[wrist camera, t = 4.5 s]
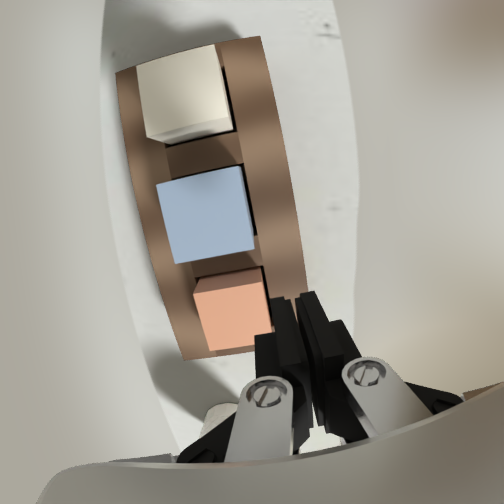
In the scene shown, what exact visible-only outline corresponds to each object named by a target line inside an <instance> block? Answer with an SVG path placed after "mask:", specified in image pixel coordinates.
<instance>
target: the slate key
mask: <svg viewBox="0 0 504 504" xmlns="http://www.w3.org/2000/svg"><path fill="white" fill-rule="evenodd" d="M156 187H157V192H158V196H159V201H160V205H161V210H162V214H163V218H164V222H165V227H166V231H167V235H168V239H169V243H170V247H171V251H172V254H173V258H174V262H175V264H178V263H183V262H188V261H194V260H199V259H204V258H210V257H215V256H220V255H226V254H231V253H236V252H242V251H247V250H252V249H254V235H253V227H252V222H251V217H250V211H249V206H248V201H247V196H246V191H245V186H244V181H243V176H242V170H241V167H239V166H236V167H231V168H226V169H221V170H216V171H212V172H207V173H203V174H198V175H194V176H189V177H185V178H181V179H177V180H173V181H169V182H165V183H161V184H157V185H156Z"/></svg>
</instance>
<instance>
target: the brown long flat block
mask: <svg viewBox="0 0 504 504" xmlns="http://www.w3.org/2000/svg"><path fill="white" fill-rule="evenodd" d="M210 45H213V44H210ZM206 46H208V45H206ZM214 46H215V50H216V53H217V57H218V60H219V64H220V67H221V71H222V75H223V80H224V85H225V90H226V95H227V100H228V105H229V110H230V115H231V120H232V125H233V130H234V131H229V132H224V133H219V134H215V135H210V136H206V137H201V138H197V139H193V140H189V141H185V142H181V143H177V144H173V145H170V144H167V143H164V142H161V141H158V140H154V139H151V138H148V137H147V135H146V130H145V124H144V118H143V111H142V105H141V98H140V91H139V84H138V76H137V68H136V66H137V65H136V66H133V67H130V68H127V69H125V70H122V71H119V72H117V73H115V74H116V84H117V92H118V100H119V108H120V115H121V122H122V128H123V135H124V141H125V146H126V152H127V158H128V163H129V168H130V173H131V178H132V183H133V188H134V192H135V197H136V201H137V206H138V210H139V214H140V219H141V223H142V227H143V231H144V235H145V239H146V242H147V246H148V250H149V254H150V257H151V261H152V264H153V268H154V271H155V275H156V278H157V282H158V285H159V288H160V292H161V295H162V298H163V301H164V304H165V307H166V311H167V314H168V317H169V320H170V323H171V326H172V329H173V332H174V334H175V337H176V340H177V343H178V346H179V348H180V351H181V354H182V357H183V359H184V360H193V359H202V358H210V357H218V356H226V355H233V354H240V353H246V352H253V351H255V346H254V345H248V346H242V347H235V348H229V349H222V350H214V351H210V350H209V346H208V343H207V340H206V337H205V334H204V330H203V327H202V324H201V320H200V317H199V313H198V310H197V306H196V303H195V299H194V296H193V293H194V290H195V288H196V286H197V284H198V281H199V279H200V277H201V276H206V275H211V274H217V273H222V272H228V271H233V270H239V269H244V268H250V267H255V266H260V265H261V271H262V276H263V281H264V286H265V291H266V297H267V302H268V307H269V314H270V321H271V329H272V332H275V329H274V322H273V316H272V310H271V304H270V298H276V297H282V296H284V298H285V300H287V299H291V303H292V306H293V309H294V313H295V316H296V320H297V315H296V307H295V298H298V297H300V293H304V292H308V286H307V279H306V271H305V264H304V257H303V251H302V244H301V237H300V231H299V225H298V218H297V212H296V206H295V200H294V194H293V189H292V183H291V177H290V172H289V166H288V161H287V156H286V151H285V145H284V140H283V135H282V130H281V125H280V121H279V116H278V111H277V106H276V102H275V97H274V92H273V88H272V84H271V79H270V75H269V70H268V66H267V62H266V58H265V54H264V50H263V45H262V41H261V37H260V36H255V37H248V38H242V39H236V40H230V41H225V42H220V43H215V44H214ZM201 47H204V46H201ZM197 48H199V47H197ZM193 49H195V48H193ZM189 50H191V49H189ZM185 51H187V50H185ZM181 52H183V51H181ZM177 53H180V52H177ZM174 54H176V53H174ZM170 55H172V54H170ZM167 56H169V55H167ZM163 57H165V56H163ZM160 58H162V57H160ZM157 59H159V58H157ZM154 60H156V59H154ZM151 61H152V60H151ZM147 62H149V61H147ZM144 63H146V62H144ZM141 64H143V63H141ZM139 65H140V64H139ZM236 166H239V167H241V170H242V176H243V181H244V186H245V191H246V196H247V201H248V206H249V211H250V217H251V222H252V227H253V235H254V249H252V250H247V251H242V252H236V253H231V254H226V255H220V256H215V257H210V258H204V259H199V260H194V261H188V262H183V263H178V264H175V262H174V258H173V254H172V251H171V247H170V243H169V239H168V235H167V231H166V227H165V222H164V218H163V214H162V210H161V205H160V201H159V196H158V192H157V187H156V185H157V184H161V183H165V182H169V181H173V180H177V179H181V178H185V177H189V176H194V175H198V174H203V173H207V172H212V171H216V170H221V169H226V168H231V167H236Z"/></svg>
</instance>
